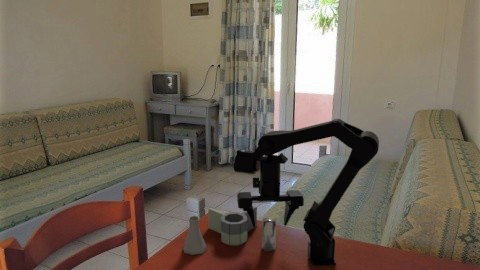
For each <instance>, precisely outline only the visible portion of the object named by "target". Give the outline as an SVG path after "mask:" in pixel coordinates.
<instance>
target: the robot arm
mask: <svg viewBox="0 0 480 270" xmlns="http://www.w3.org/2000/svg"><path fill="white" fill-rule="evenodd" d="M332 137H333V138H336V139H338V140H339V141H340V142H341V143H342V144H344V145H345V146H347V148H350V149H351V151H350V153H349V156H348V157H347V158H348V159H347V161H346V162H345V163H344V165H343V167H342V168H341V170H340V172H339V173H338V175H337V176H336V178H335V180H334V181H333V183H332V184H331V186H330V188H329V189H328V190H327V192H326V194H325V195H324V197H323V199H322V200H321V201H320V202H317V201H315V200H313V203H312V205H311V207H310V208H308V210H307V211H306V214H305V215H304V218H303V230H304V232H305V233H306V234H307V235H308V237H309V241H308V242H307V256H308V258H309V259H310V261H311V263H312V265H313V266H320V265H321V266H325V265H326V266H327V265H336V264H337V261H336V259H335V252H336V251H335V250H336V240H335V238H334V234H335V232H336V231H335V230H336V226H335V225H334V223H332V221H330V218H331V216H332V214H333V211H334V210H335V208H336V207H337V206H338V204H339V202H340V201H341V200H342V198H343V196H344V195H345V193H346V192H347V190H348V189H349V187H350V186H351V184H352V182H353V181H354V179H355V178H356V177H357V175H358V173H359V171H361V170H362V169H363V168H364V167H365V166H366V165H368V164H369V163H370V162H371V160H372V159H374V158H375V157H376V156H377V154H378V152H379V145H380V139H379V137H378V135H377V134H376V133H375V132H372V131H369V130H366V131H364V130H363V129H361V128H359V127H357V126H356V125H352V124H349V123H347V122H345V121H344V120H343V119H341V118H334V119H332V120H329V121H325V122H322V123H317V124H313V125H309V126H305V127H300V128H296V129H293V130H284V129H283V130H272V131H268V132H267V133H266V134H264V135H262V136H261V137H259V139H258V141H257V147H256V148H255V149H254V150H246V149H244V148H243V149H241V148H239V149H237V150H236V154H235V156H234V157H235V158H234V161H233V167H232V168H233V170H234V172H235V173H239V174H248V175H256V173H257V172H259V176H260V177H252V181H251V183H252V188H253V189H258V194H259V195H252V193H251V191H245V192H244V191H240V192H238V193H237V194H236V201H237V207H238V209H240V210H242V211H243V212H244V211H247V213H248V215H249V216H250V219H251V222H252V224H253V227H255V219H254V211H253V207H254V205H253V204H257V203H258V204H259V203H280V202H281V203H282V202H284V203H285V207H284V215H283V216H284V217H283V226H284V227H287V225H288V223H289V221H290V219H291V218H292V215H293V214H294V212H295V211H296V210H299V209H300V207H304V204H305V199H304V196H303V194H302V193H301V191H300V190H298V189H295V190H294V189H292V190H286V192H285V194H281V165H284V164H286V162H288V160H289V159H288V157H287V156H285V155H284V153H283V151H285V150H286V149H288V148H291V147H293V146H296V145H301V144H306V143H309V142H314V141H319V140H323V139H327V138H332ZM280 152H281V153H280ZM278 153H280V154H278ZM255 228H256V227H255Z"/></svg>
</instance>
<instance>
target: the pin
mask: <svg viewBox="0 0 480 270" xmlns="http://www.w3.org/2000/svg"><path fill="white" fill-rule="evenodd" d="M261 225H262V226H261V248H262V250H264V251H265V252H272V251H274V250H276V244H277V243H276V239H277V238H276V236H277V235H276V234H277V219H276V218H275V217H272V216H265V217H263V218H262V220H261Z"/></svg>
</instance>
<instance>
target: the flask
mask: <svg viewBox="0 0 480 270" xmlns="http://www.w3.org/2000/svg"><path fill="white" fill-rule="evenodd" d="M199 220H200V216H199V215H191V216H189V217H188V222H189V226H188V232H187V235H186V238H185V241H184V243H183V246H182V250H183V253H184V254H187V255H190V256H191V255H192V256H194V255H201V254H204V252H205V251H206V250H207V249H208V246H207V244H206V242H205V240H204V238H203V237H204V236H203V235H202V232H201V229H200V226H199V225H200V224H199Z"/></svg>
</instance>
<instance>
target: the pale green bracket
mask: <svg viewBox="0 0 480 270" xmlns="http://www.w3.org/2000/svg"><path fill="white" fill-rule="evenodd" d="M207 211H208V229H210V230H212V231H214V232H217V233H219V234H221V235H220V236H221V237H220V239H221V242H222V243H224V244H225V245H227V246H242V245H243V244H244V243H246V242H247V241H248V232H247V231H246V232H244V233H242V234H240V235H230V234H229V235H228V234H226V233H224V232H222V231H221V216H222V215H225V214H226V212H222V211H220V210H217V209H215V208H212V207H209V208H208V210H207Z"/></svg>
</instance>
